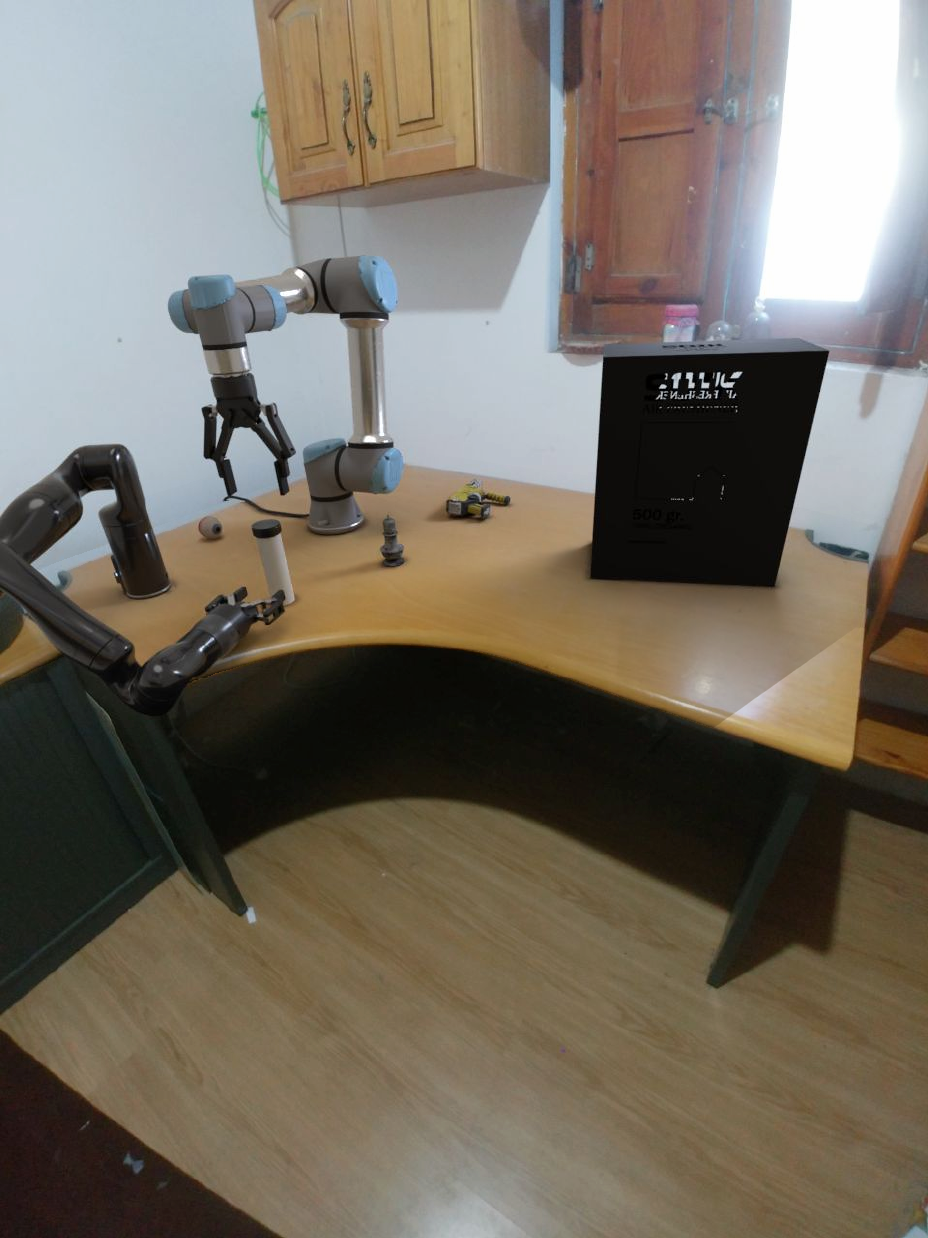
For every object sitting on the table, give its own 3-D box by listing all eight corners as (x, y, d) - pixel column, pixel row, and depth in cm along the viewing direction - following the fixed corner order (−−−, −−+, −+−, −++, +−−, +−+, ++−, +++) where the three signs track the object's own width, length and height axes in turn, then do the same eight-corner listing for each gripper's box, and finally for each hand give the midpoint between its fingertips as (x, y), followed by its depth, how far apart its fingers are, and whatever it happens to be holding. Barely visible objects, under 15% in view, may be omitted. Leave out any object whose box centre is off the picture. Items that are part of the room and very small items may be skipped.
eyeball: (211, 543, 162) (206, 522, 159) (197, 539, 165) (190, 519, 162) (230, 535, 166) (224, 515, 163) (215, 532, 169) (209, 511, 166)
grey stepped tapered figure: (401, 567, 143) (396, 519, 137) (378, 566, 144) (371, 518, 138) (408, 556, 148) (403, 510, 142) (385, 556, 149) (379, 509, 143)
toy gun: (518, 484, 183) (472, 477, 187) (496, 507, 163) (444, 499, 167) (517, 499, 185) (471, 492, 189) (494, 524, 165) (443, 515, 169)
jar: (285, 607, 128) (267, 531, 120) (266, 604, 130) (248, 529, 121) (299, 597, 132) (283, 523, 123) (281, 594, 134) (264, 520, 125)
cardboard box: (755, 547, 142) (798, 337, 120) (774, 586, 125) (829, 350, 102) (592, 542, 150) (603, 344, 127) (589, 578, 133) (603, 356, 110)
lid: (269, 539, 120) (267, 530, 119) (247, 536, 122) (245, 527, 121) (287, 529, 124) (285, 520, 123) (265, 526, 127) (263, 517, 126)
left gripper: (189, 646, 113) (237, 605, 127) (257, 654, 110) (299, 610, 123) (178, 611, 109) (229, 573, 123) (248, 618, 106) (292, 578, 120)
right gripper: (299, 368, 109) (320, 487, 121) (183, 372, 113) (214, 487, 124) (283, 375, 103) (306, 499, 114) (161, 379, 106) (195, 499, 118)
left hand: (264, 592), depth 123 cm, fingers open, 8 cm apart
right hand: (258, 493), depth 119 cm, fingers open, 10 cm apart
